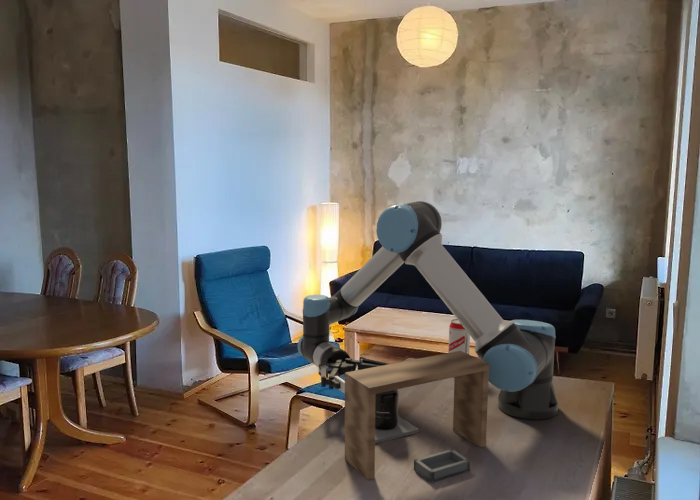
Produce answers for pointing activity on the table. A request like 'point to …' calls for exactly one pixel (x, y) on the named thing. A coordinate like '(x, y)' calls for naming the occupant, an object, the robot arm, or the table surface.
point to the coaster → (395, 431)
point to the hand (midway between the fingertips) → (372, 384)
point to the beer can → (458, 337)
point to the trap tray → (441, 465)
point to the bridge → (405, 374)
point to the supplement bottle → (386, 410)
